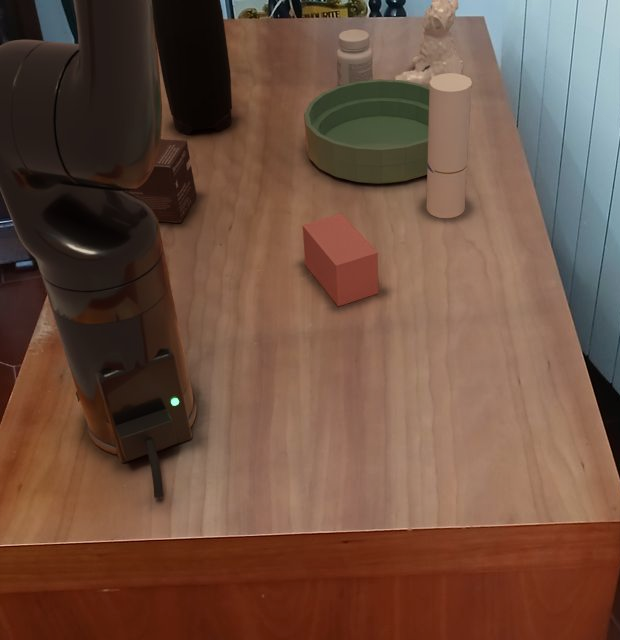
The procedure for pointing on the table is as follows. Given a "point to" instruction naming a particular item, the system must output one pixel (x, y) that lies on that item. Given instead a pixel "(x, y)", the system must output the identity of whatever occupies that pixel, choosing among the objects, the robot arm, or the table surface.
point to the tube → (448, 144)
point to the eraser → (340, 259)
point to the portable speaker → (194, 63)
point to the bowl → (370, 131)
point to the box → (169, 183)
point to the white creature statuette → (436, 45)
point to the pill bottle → (354, 57)
